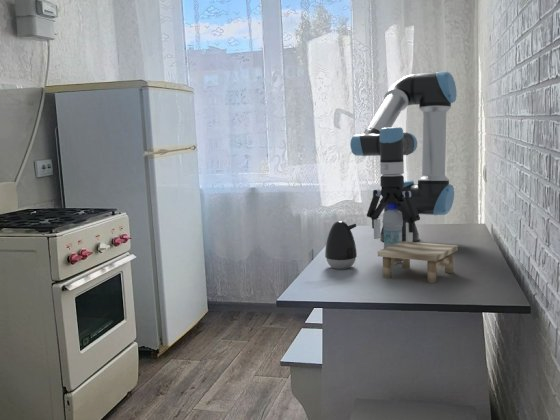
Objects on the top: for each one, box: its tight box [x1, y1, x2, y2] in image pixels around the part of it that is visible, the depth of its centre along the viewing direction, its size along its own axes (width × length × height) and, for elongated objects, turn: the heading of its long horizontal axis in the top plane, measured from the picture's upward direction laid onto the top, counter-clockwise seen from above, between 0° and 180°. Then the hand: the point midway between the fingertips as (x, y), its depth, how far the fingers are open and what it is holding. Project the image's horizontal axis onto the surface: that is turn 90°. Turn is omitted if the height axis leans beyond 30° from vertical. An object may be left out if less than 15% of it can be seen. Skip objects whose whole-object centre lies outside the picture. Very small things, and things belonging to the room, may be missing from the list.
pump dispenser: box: [324, 220, 358, 270], centre depth 197 cm, size 10×10×15 cm
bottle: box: [382, 203, 403, 249], centre depth 201 cm, size 7×7×20 cm
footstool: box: [377, 241, 459, 284], centre depth 184 cm, size 18×18×8 cm
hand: (392, 240), depth 202 cm, fingers open, 12 cm apart
